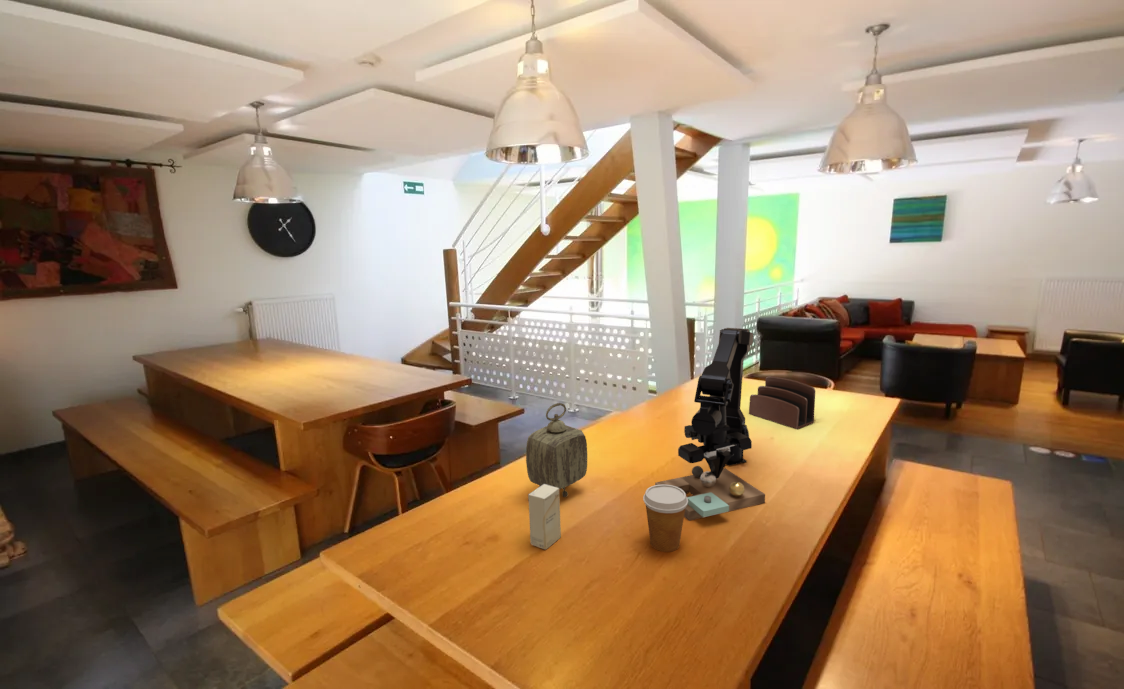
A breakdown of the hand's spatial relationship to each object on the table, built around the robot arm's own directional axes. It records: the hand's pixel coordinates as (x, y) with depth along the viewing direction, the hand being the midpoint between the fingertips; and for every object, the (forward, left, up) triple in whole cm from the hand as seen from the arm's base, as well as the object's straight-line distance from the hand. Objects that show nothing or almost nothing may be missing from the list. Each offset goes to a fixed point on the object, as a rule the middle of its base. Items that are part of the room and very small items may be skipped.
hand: (715, 477), depth 136 cm
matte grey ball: (+2, -6, -1) cm, 6 cm away
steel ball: (+2, 0, 0) cm, 2 cm away
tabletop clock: (+38, -15, -5) cm, 41 cm away
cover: (+9, +9, -2) cm, 12 cm away
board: (+3, +1, -4) cm, 5 cm away
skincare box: (+48, +4, -5) cm, 48 cm away
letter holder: (-54, -37, -5) cm, 66 cm away
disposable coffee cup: (+24, +15, -5) cm, 28 cm away
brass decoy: (-1, +7, 0) cm, 7 cm away
